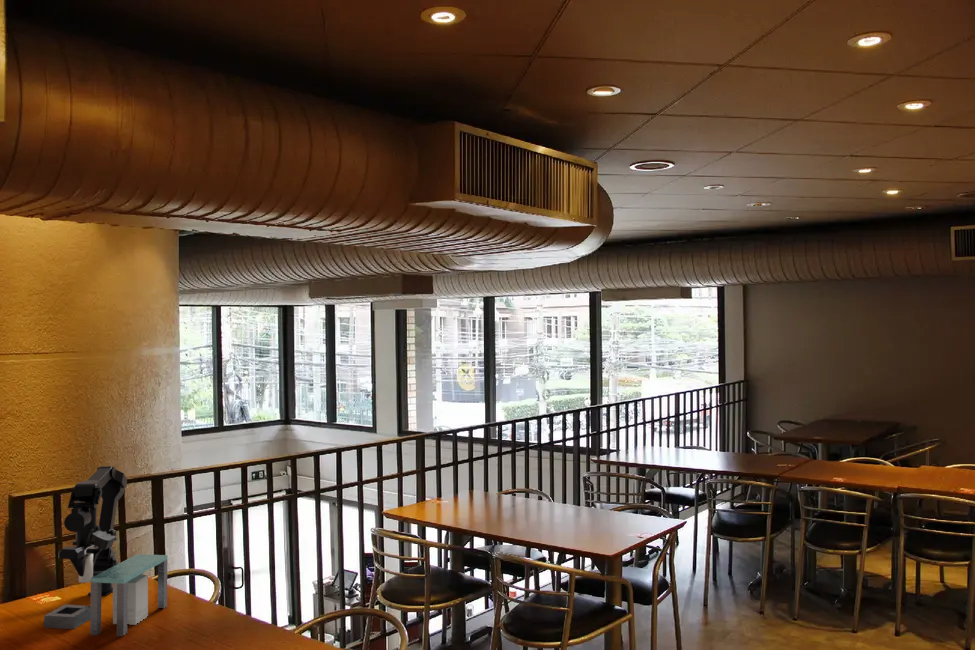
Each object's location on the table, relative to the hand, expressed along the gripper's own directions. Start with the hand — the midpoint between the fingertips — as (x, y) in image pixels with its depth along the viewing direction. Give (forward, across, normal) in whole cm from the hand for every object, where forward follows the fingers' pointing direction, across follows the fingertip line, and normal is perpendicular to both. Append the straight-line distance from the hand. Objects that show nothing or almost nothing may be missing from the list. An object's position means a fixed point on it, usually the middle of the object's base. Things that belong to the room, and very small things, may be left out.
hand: (85, 574), depth 245 cm
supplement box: (+11, -7, -19) cm, 23 cm away
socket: (+11, -11, -2) cm, 16 cm away
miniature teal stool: (+11, -7, -19) cm, 23 cm away
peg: (+2, 0, 0) cm, 2 cm away
